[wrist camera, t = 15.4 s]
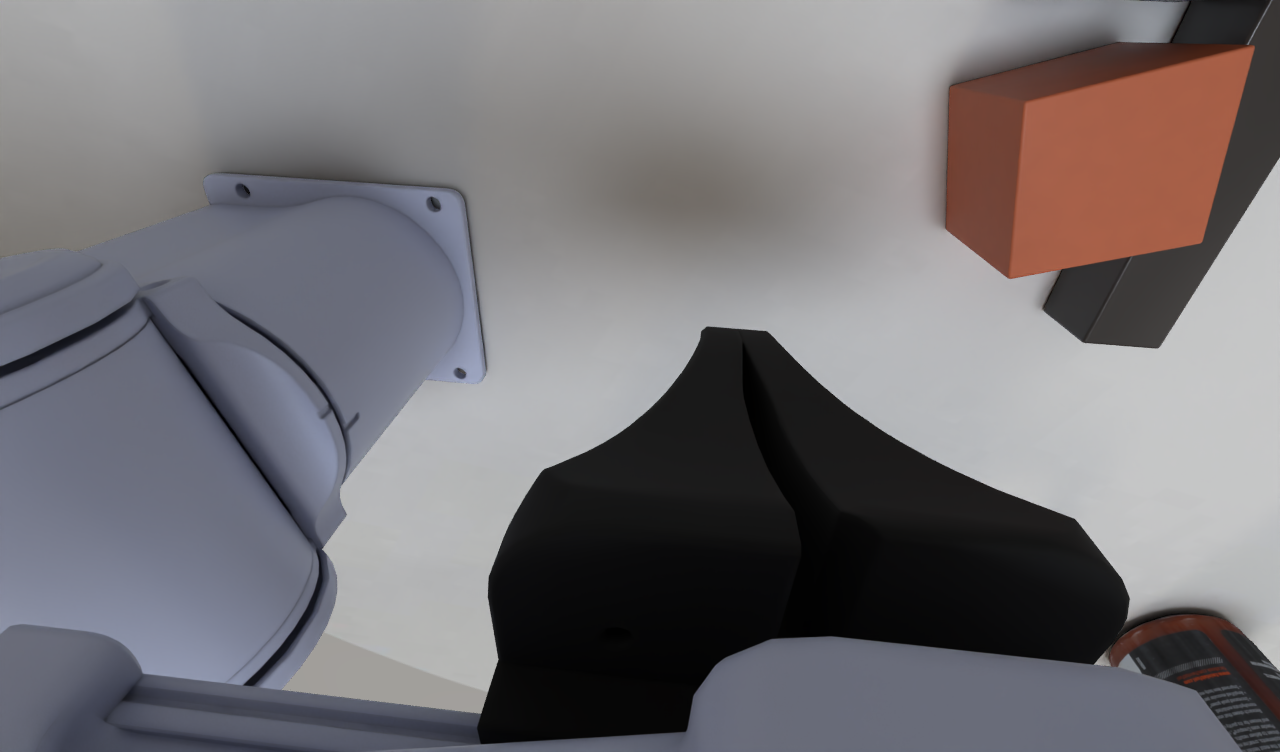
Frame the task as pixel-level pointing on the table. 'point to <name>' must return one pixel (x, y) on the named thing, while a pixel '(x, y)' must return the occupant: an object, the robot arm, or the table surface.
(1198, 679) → the supplement bottle
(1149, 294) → the straight edge
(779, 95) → the table surface
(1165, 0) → the charcoal block
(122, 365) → the robot arm
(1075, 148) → the terracotta block
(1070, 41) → the table surface
